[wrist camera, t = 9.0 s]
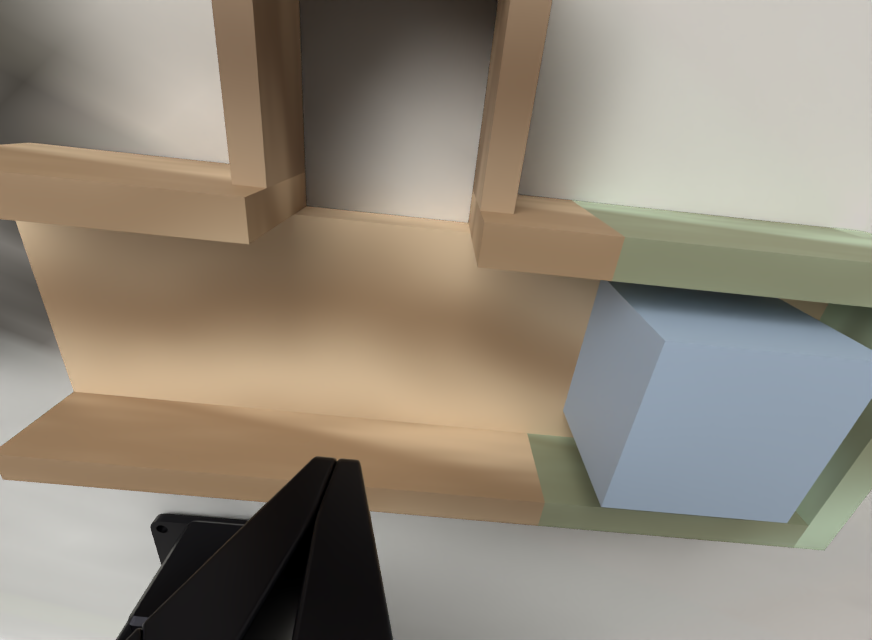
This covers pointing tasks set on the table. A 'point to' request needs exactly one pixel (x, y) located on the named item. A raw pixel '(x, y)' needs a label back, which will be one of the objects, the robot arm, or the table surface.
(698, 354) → the block
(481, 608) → the table surface
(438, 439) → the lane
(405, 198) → the table surface
